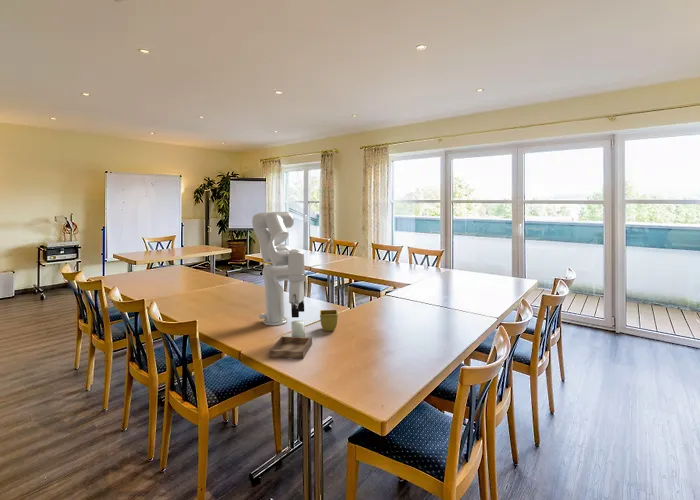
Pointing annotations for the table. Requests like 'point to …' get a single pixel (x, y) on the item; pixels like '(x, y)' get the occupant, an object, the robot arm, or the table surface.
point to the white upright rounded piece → (298, 328)
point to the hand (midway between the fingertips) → (298, 314)
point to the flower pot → (328, 319)
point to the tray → (291, 347)
